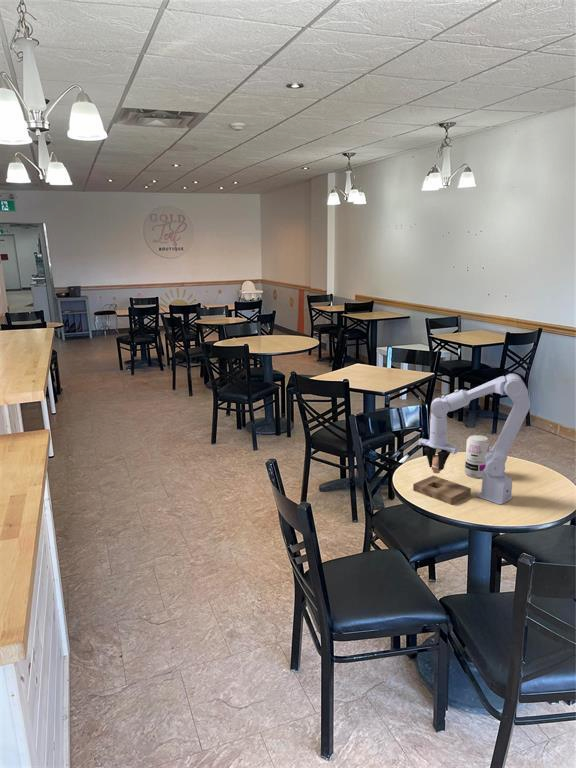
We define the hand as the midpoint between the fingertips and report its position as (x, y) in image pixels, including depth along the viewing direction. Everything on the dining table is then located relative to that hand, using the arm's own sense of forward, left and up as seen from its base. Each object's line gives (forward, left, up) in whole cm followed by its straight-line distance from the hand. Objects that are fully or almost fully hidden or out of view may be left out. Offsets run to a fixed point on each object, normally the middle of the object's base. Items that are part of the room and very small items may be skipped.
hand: (436, 468), depth 197 cm
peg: (0, 0, -2) cm, 2 cm away
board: (-2, -1, -9) cm, 9 cm away
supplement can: (-1, -25, -9) cm, 26 cm away
